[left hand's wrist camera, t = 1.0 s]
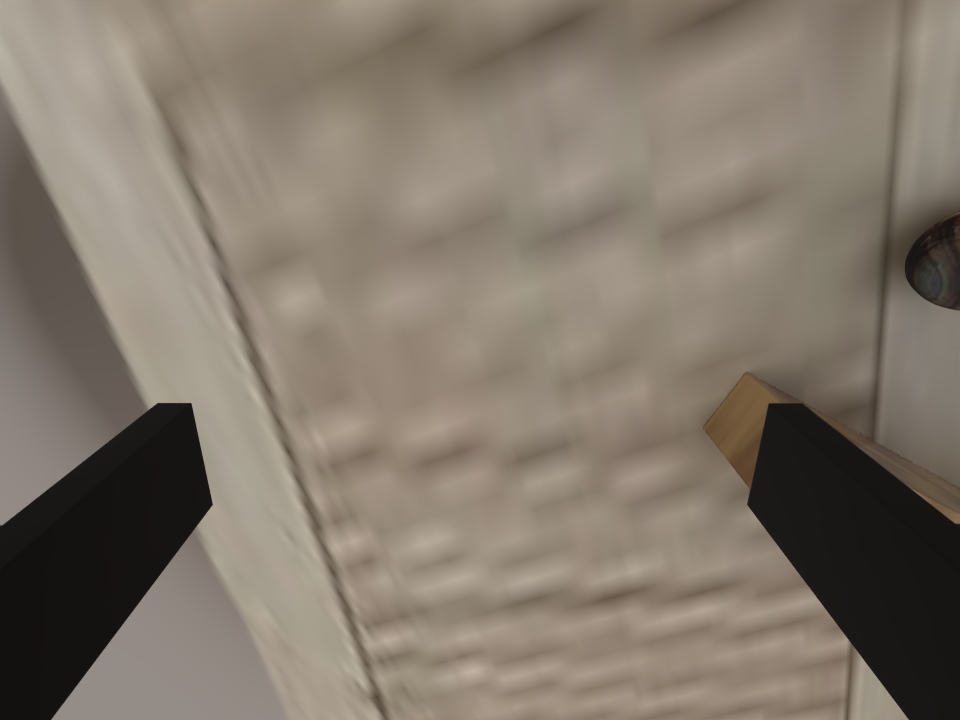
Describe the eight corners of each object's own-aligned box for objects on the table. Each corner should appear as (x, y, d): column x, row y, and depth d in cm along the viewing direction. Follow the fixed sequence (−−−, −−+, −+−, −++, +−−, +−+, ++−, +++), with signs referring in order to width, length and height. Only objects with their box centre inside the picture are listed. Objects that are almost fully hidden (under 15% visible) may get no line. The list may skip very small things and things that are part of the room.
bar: (702, 428, 37) (768, 514, 28) (746, 371, 36) (831, 445, 27) (966, 564, 41) (1095, 676, 33) (1016, 519, 40) (1164, 624, 31)
